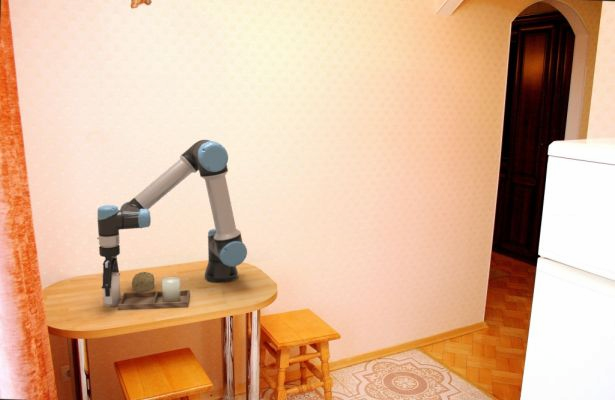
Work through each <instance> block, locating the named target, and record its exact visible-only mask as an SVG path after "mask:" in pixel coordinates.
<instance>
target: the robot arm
mask: <svg viewBox="0 0 615 400" xmlns="http://www.w3.org/2000/svg"><path fill="white" fill-rule="evenodd" d="M228 162H229V154H228V152H227V149H226V147H224V146H223V145H222V144H221V143H220V142H218V141H212V140H210V139H209V140H208V139H201V140H198V141H196V142H195V143H194V144H192V145H191V146H190V147H189V148H188V149H187V150H185V151H184V152H183V153H181V155H180V158H179V159H178V160H177V161H176V162H175V163H173V164H172V165H171V166H170V167H169V168H167V170H165V171H164V172H162V174H160V175H159V176H158V177H157V178H156V179H154V181H152V182H151V183H149V184H148V186H146V187H145V188H144V189H143V190H142V191H140V192H139V193H138V194H137V195H136V196H135V197H133V198H131V200H130V201H126V202H124V203H123V204H122V205H121V206H120V208H119V207H118V206H117V205H114V204H113V205H112V204H106V205H101V206H99V207H98V209H97V217H96V219H97V229H98V230H97V231H98V236H97V240H98V245H99V247H98V251H99V256H100V257H103V258H104V260H103V263H102V268H103V270H102V275H103V282H102V286H101V289H102V290H103V289H104V297H105V304H112V303H113V301H112V287H111V280H112V272H117V273H119V275H120V276H121V273H120V271H119V264H118V256H119V255H120V253H121V248H120V247H121V246H120V243H121V241H120V231H121V230H131V229H143V228H149V227H150V226H151V221H152V220H151V211H150V210H149V209H151V208H152V207H153V206H154V205H155V204H156V203H158V202H159V201H160V200H162V198H164V197H165V196H166V195H167V194H168V193H170V192H171V191H172V190H173V189H175V188H176V187H177V186H178V185H179V184H180V183H182V182H183V181H184V180H185V179H186V178H187V177H189V176H190V175H191V174H193V173H197V172H199V176H200V178H202V179H203V180H204V182H205V187H206V191H207V196H208V200H209V205H210V209H211V215H212V218H213V224H214V228H213V229H209V230H208V232H207V233H208V234H207V250H208V251H207V252H208V254H207V255H208V257H207V258H208V260H207V265H206V268H205V271H204V279H205V280H206V281H208V282H211V283H220V284H221V283H222V284H223V283H230V282H234V281H236V280H237V279H238V278H239V271H238V269H237V268H238V266H239V265H241V264H243V262H244V261H245V260H246V258H247V255H248V248H247V246H246V244H245V243H243V237H242V233H241V231H240V230H239V229H237V227H236V226H237V225H236V222H235V216H234V212H233V207H232V203H231V202H232V201H231V197H230V193H229V192H230V191H229V187H228V183H227V179H226V175H227V174H228V172H229V168H228V165H227V164H228Z"/></svg>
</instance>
